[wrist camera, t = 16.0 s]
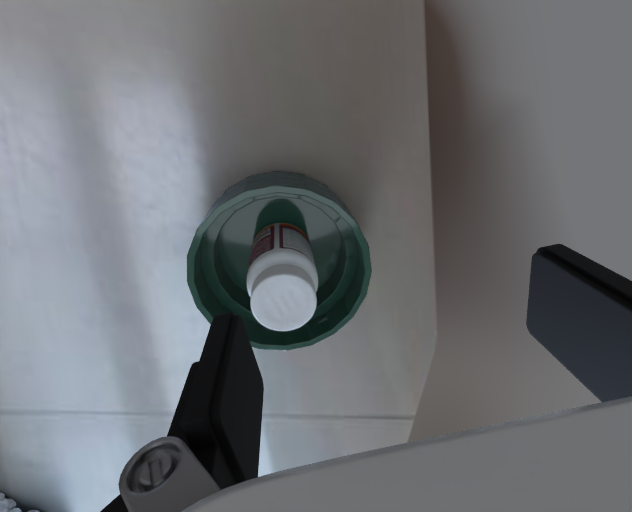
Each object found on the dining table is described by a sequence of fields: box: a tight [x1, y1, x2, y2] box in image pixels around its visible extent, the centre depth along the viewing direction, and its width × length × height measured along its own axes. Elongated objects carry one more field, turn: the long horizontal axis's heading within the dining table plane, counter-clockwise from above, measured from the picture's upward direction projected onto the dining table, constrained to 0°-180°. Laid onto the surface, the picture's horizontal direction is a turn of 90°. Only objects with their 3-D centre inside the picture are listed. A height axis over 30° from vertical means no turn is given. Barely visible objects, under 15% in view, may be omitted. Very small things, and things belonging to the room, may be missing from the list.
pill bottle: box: [247, 223, 318, 331], centre depth 32 cm, size 6×6×11 cm
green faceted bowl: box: [187, 171, 372, 351], centre depth 34 cm, size 16×16×7 cm
